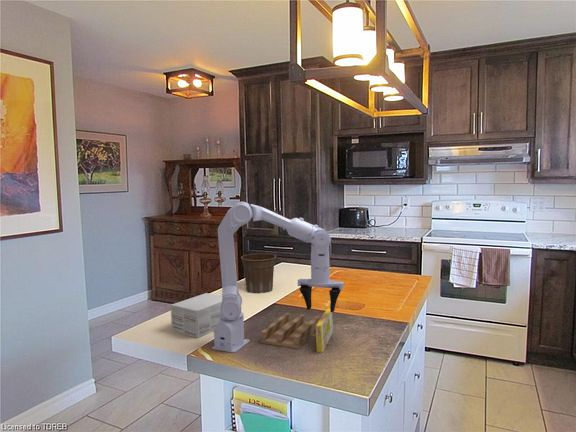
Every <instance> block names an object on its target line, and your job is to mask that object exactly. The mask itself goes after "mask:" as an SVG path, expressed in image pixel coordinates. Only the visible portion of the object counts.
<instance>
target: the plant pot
mask: <svg viewBox="0 0 576 432" xmlns="http://www.w3.org/2000/svg"><path fill="white" fill-rule="evenodd" d="M276 258H277V255H276V254H273V253H249V254H244V255H242V256H241V257H240V259H241V263H242V267H243V272H244V281H245V290H246V292H248V293H249V294H262V293H263V294H266V293H270V292H271V291H273V290H274V289H273V286H274V285H273V284H274V274H275V273H274V271H275V266H276Z"/></svg>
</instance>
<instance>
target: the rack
mask: <svg viewBox="0 0 576 432" xmlns="http://www.w3.org/2000/svg"><path fill="white" fill-rule="evenodd" d="M320 318H321V317H320V316H319V315H315V316H314V317H313V318H312V319H310V321H306V320H305V319H306V315H305V314H299V315H298V316H297V317H296V318H294V319H291V312H285V313H284V314H282V315H281V316H279V318H277V319H276V320H274V321H273V322H272V323H270V324H269V325H268V326H266V327H265V328H263V330H261V331H260V344H266V345H272V346H276V347H286V348H291V349H300V348H301V347H302V346H303V344H305V343H306V342H307V340H308V339H309V338H310V337H311V336H312V335H313V334H314V333H316V324H317V323H318V321H319V320H320Z"/></svg>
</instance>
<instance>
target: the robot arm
mask: <svg viewBox="0 0 576 432" xmlns="http://www.w3.org/2000/svg"><path fill="white" fill-rule="evenodd" d="M251 219H252V222H258V221H264V222H267V223H269V224H272V225H275V226H277V227H280V228H283V229H285V230H286V232H287V235H288V236H291V237H293V238H295V239H297V240H300V241H302V242H305V243H310V246H311V249H310V250H311V252H310V273H311V274H310V277H311V278H298V279H297V287H300V288H299V292H300V293H301V295H302V298H303V299H304V302H305V305H306V310H307V311H308V310H311V308H312V290H313V288H322V289H324V288H325V289H330V290H329V299H330V308H329V309H330V311H331V312H332V313H334V312H335V309H336V304H337V301H338V298H339V296H340V294H341V291H343V290H344V289H345V282H344V281H338V280H332V279H331V277H330V275H331V274H330V272H331V271H330V247H329V246H331V245H330V244H331V242H332V238H331V235H330V233H329V232H328V230H325V229H324V228H321V227H320V226H319V225H318V224H312V223H310V222H307V221H305V219H304V218H303V217H299V218H298V217H293V218H292V219H289V218H287V217H285V216H283V215H280V214H278V213H276V212H274V211H271V210H270V209H268V208H265V207H262V206H260V205H256V204H253V203H252V204H251V203H250V204H249V203H248V202H246V201H238V202H236V203H234V205H233V206H231V208H229V209H228V210H227V212H226V213H225V215H224V217H223V219H222V220H221V222H220V223H219V226H218V228H217V238H218V239H217V241H218V251H219V263H220V274H221V291H222V292H221V296H222V304H221V306H220V312H221V314H220V320H219V322H218V323H217V324H216V326H215V328H214V331H213V338H214V340H213V341H214V342H213V344H214V345H213V346H212V347H211V349H212V350H216V351H221V352H227V353H233V354H234V353H236V352H238V351H239V350H240V349H242V348H243V347H244V346H246V345H247V344H248V343H249V342H250V339H247V338H246V339H245V327H244V325H245V321H244V319H245V318H244V313H243V312H242V304H243V298H242V296H241V294H240V293H239V286H238V276H237V263H236V262H237V261H236V250H235V240H234V234H235V233H236V232H237V231H238V230H239V228H240V227H242V226H244V225H246V224H247V223H249V222H250V221H251Z"/></svg>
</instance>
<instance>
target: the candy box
mask: <svg viewBox="0 0 576 432" xmlns="http://www.w3.org/2000/svg"><path fill="white" fill-rule="evenodd" d="M324 311H325V312H324V313H323V314H322V315H321V317H320V320H319V321H318V323H317V324H316V331H315V340H316V341H315V343H316V352H317V353H324V351H325V349H326V347H327V345H328V343H329V342H330V339H331V337H332V336H333V334H334V325H333V322H334V321H333V312H331V311H330V308H326V310H324Z"/></svg>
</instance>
